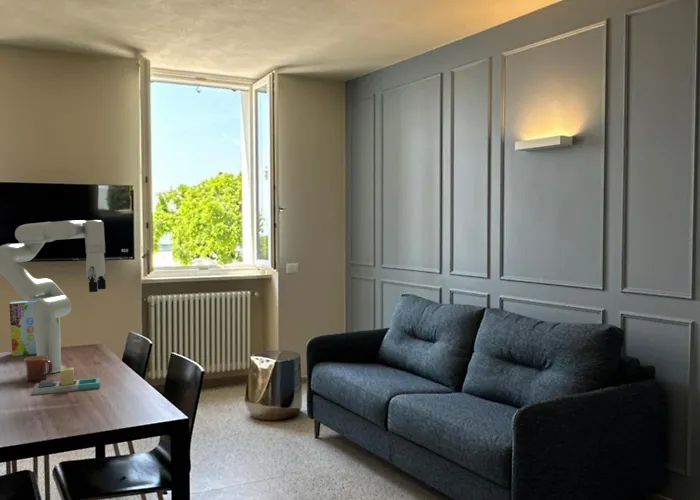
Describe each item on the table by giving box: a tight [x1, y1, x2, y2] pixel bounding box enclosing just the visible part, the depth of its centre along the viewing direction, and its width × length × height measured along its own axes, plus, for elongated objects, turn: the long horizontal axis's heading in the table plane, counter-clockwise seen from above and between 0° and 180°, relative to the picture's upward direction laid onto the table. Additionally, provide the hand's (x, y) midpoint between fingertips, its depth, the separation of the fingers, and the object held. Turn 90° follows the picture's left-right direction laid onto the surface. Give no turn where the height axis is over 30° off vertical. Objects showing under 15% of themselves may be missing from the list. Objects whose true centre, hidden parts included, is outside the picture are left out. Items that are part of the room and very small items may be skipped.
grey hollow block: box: [39, 379, 55, 388], centre depth 247 cm, size 4×4×4 cm
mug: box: [23, 355, 53, 384], centre depth 262 cm, size 12×9×10 cm
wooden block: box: [59, 366, 75, 386], centre depth 250 cm, size 4×4×8 cm
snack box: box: [8, 300, 62, 357], centre depth 321 cm, size 22×9×26 cm, turn 114°
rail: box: [32, 377, 101, 396], centre depth 250 cm, size 23×8×3 cm, turn 109°
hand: (97, 290), depth 276 cm, fingers open, 9 cm apart
